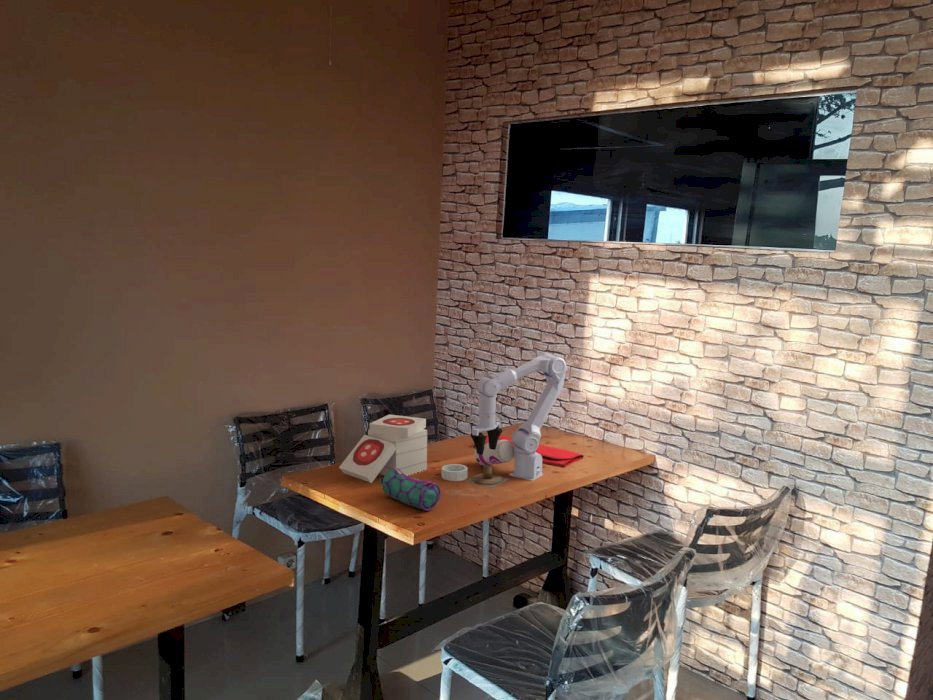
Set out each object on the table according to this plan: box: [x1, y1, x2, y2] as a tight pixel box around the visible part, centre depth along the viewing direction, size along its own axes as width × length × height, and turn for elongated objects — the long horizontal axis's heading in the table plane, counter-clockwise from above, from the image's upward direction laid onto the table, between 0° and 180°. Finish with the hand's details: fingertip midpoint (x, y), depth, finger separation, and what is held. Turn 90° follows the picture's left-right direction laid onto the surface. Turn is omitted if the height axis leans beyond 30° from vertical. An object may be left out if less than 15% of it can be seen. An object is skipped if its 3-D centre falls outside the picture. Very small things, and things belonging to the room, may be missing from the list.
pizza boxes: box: [338, 413, 428, 484], centre depth 255 cm, size 19×30×18 cm, turn 138°
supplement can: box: [474, 440, 515, 466], centre depth 262 cm, size 8×8×15 cm
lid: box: [472, 465, 502, 486], centre depth 250 cm, size 10×10×5 cm
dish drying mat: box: [474, 434, 585, 468], centre depth 284 cm, size 16×41×4 cm, turn 54°
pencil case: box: [378, 468, 442, 512], centre depth 228 cm, size 21×9×10 cm, turn 44°
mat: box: [465, 476, 510, 489], centre depth 250 cm, size 11×11×1 cm
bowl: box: [441, 463, 469, 482], centre depth 253 cm, size 9×9×4 cm
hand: (486, 451), depth 250 cm, fingers open, 7 cm apart
